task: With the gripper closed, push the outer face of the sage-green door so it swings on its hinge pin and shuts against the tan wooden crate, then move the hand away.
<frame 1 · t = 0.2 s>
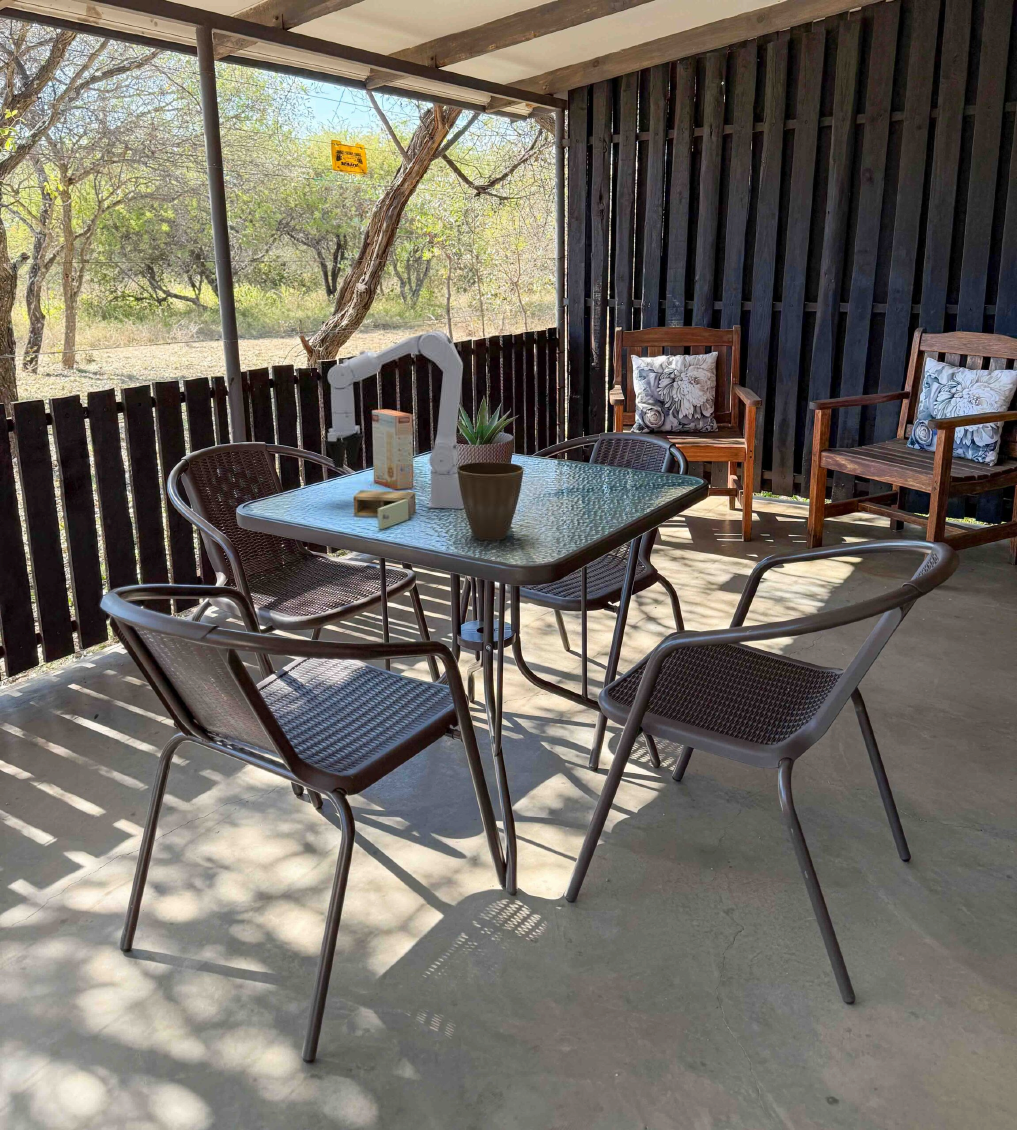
hand: (345, 465, 247), 10 cm above the table, tool pointing down, fingers open, 7 cm apart
plant pot: (490, 537, 217), on the table
tan wooden crate: (385, 513, 238), on the table
cracker box: (393, 486, 272), on the table
door: (396, 513, 227), point 3 cm above the table, hinge at 70.0°
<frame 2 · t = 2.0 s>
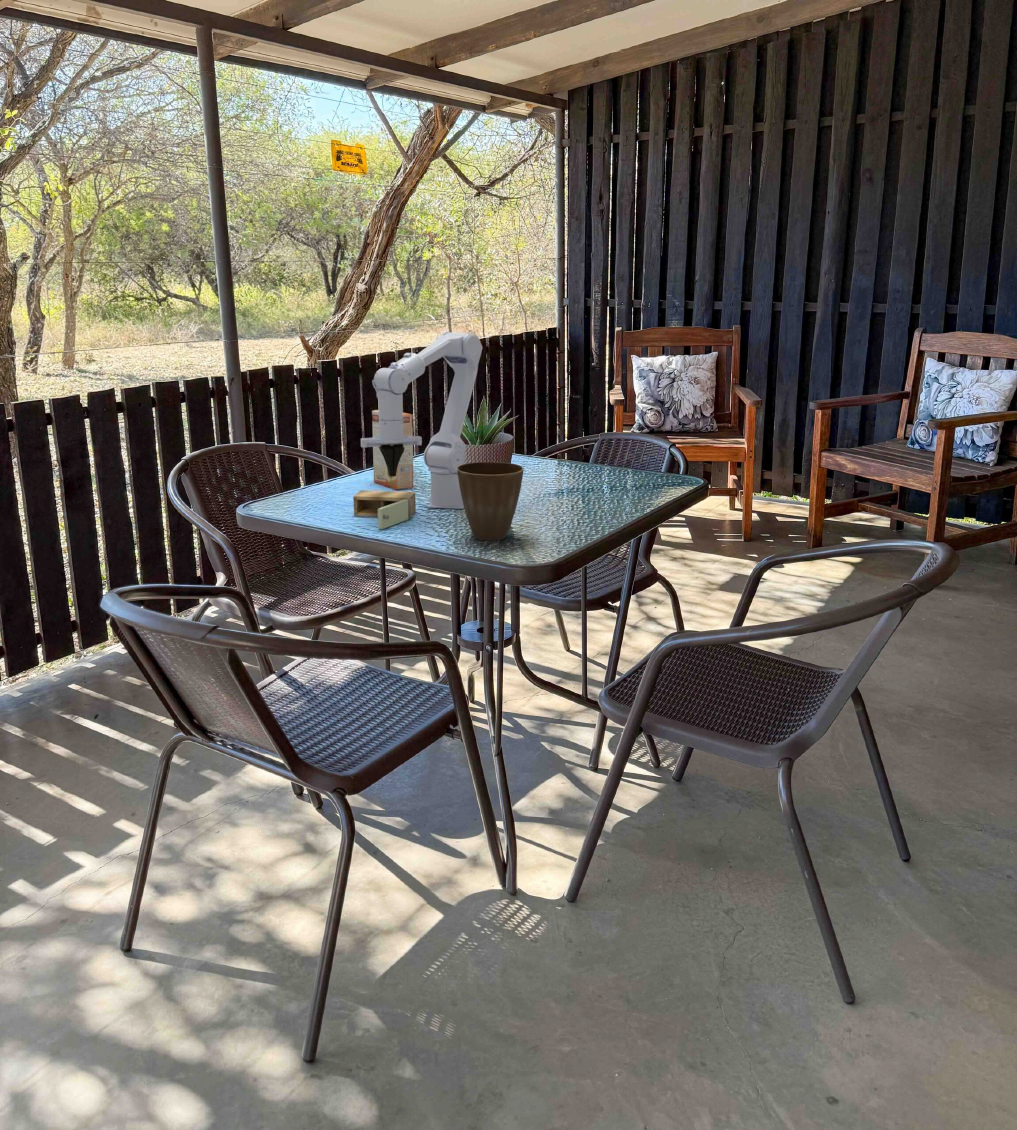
hand: (392, 475, 231), 11 cm above the table, tool pointing down, fingers closed
nothing on the table moved.
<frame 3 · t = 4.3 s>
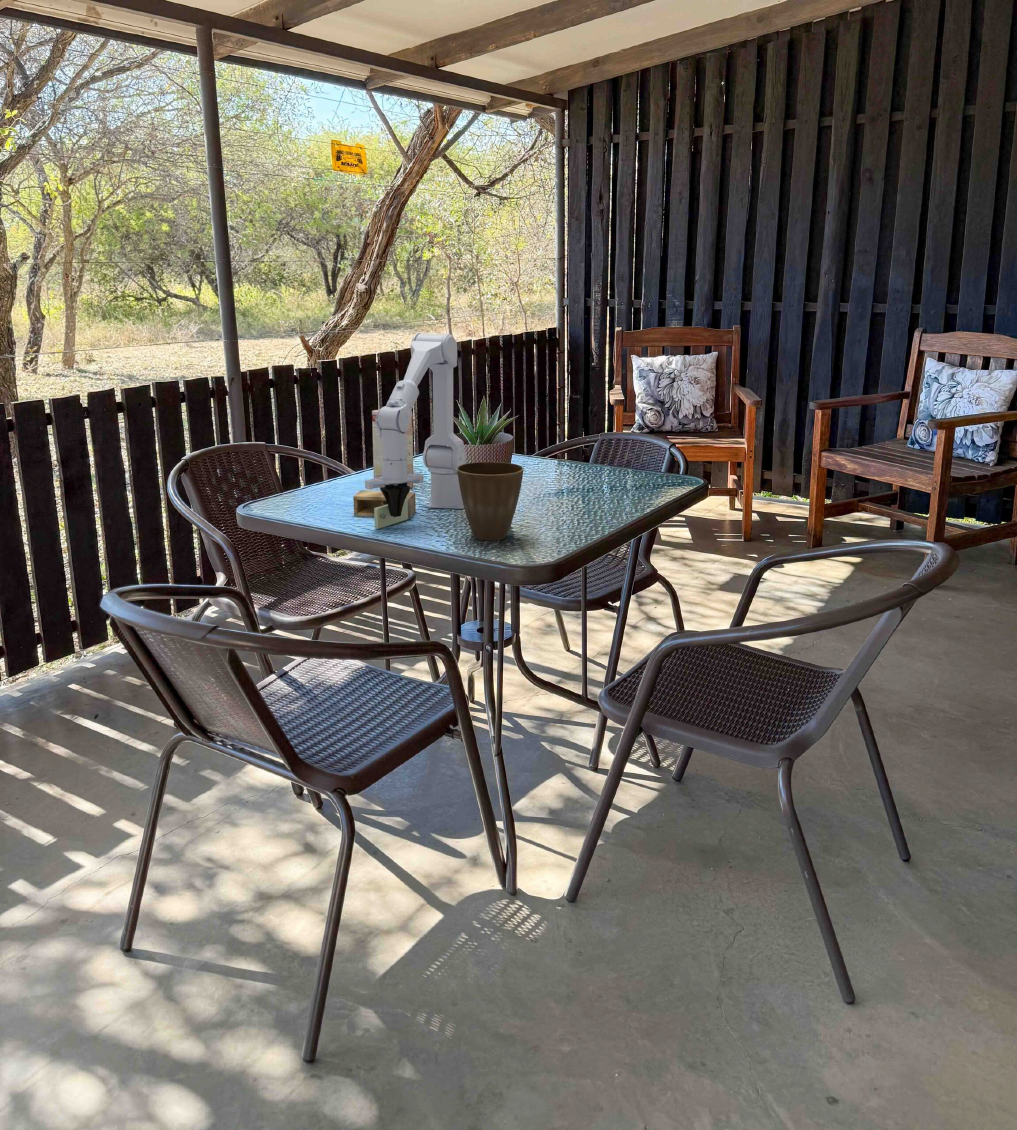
hand: (395, 516, 225), 3 cm above the table, tool pointing down, fingers closed
door: (395, 513, 227), point 3 cm above the table, hinge at 65.2°, touching gripper
everything else where it was.
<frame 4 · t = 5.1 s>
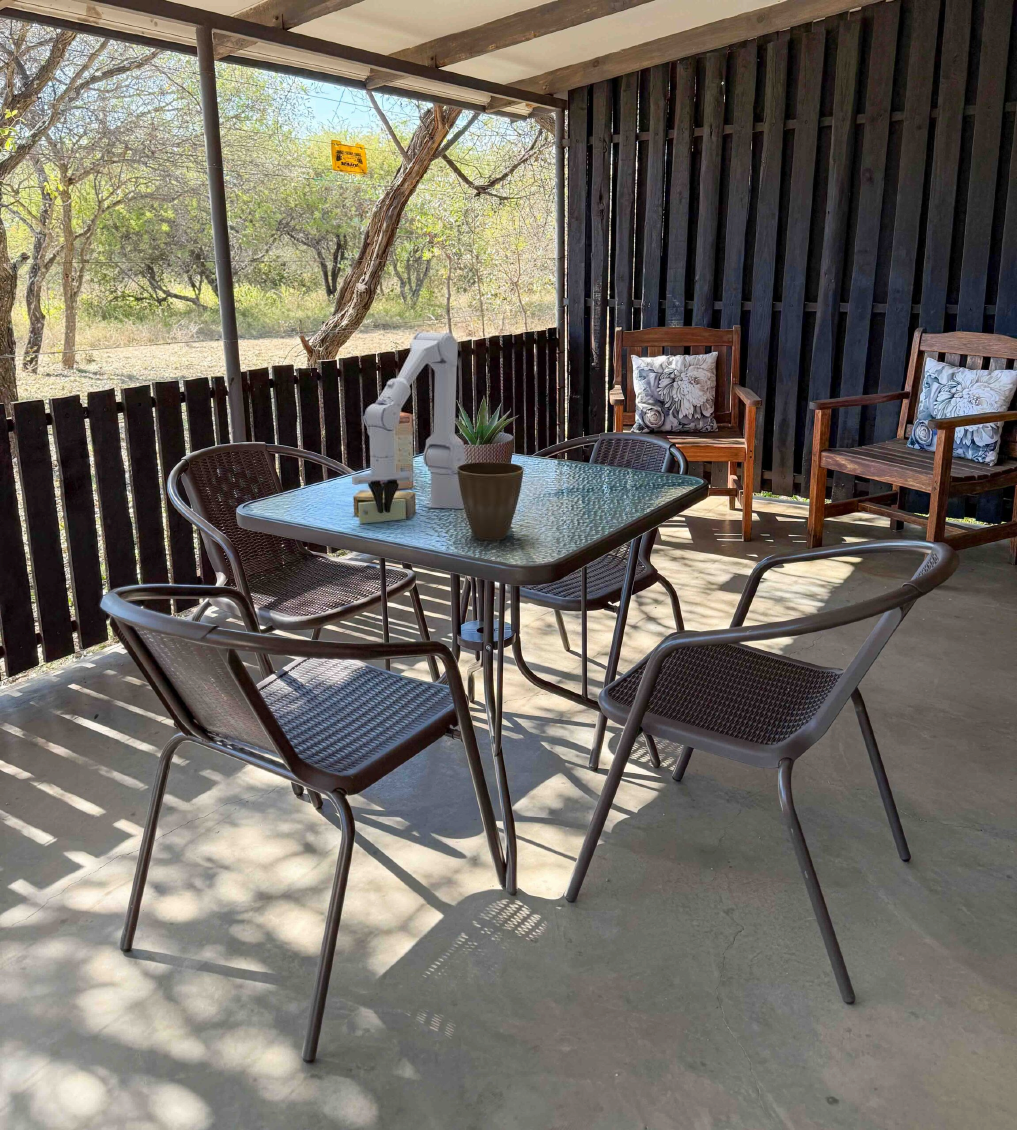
hand: (383, 512, 228), 3 cm above the table, tool pointing down, fingers closed, pressing on door
door: (386, 511, 230), point 3 cm above the table, hinge at 33.1°, touching gripper
everything else where it was.
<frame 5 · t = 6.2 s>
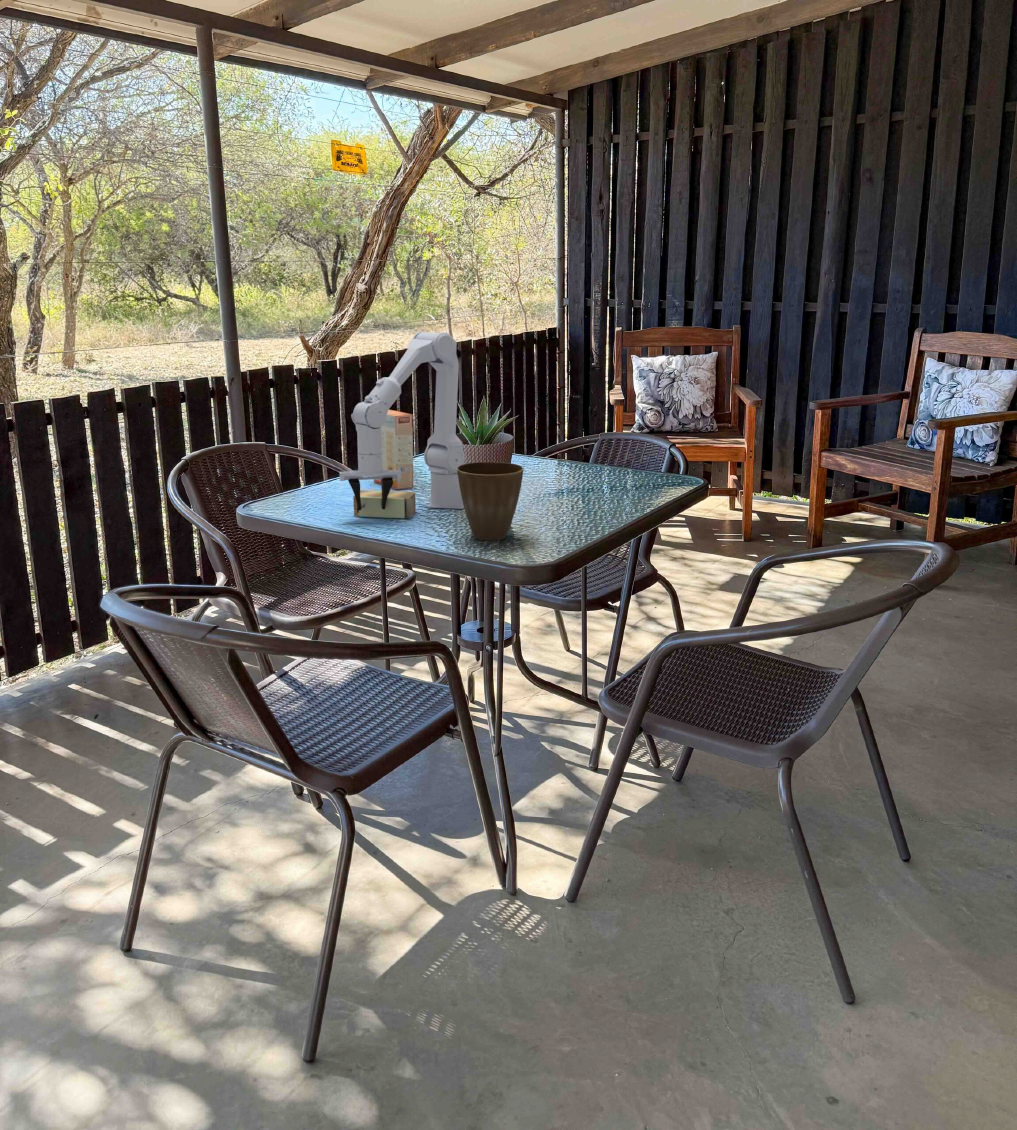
hand: (371, 509, 231), 3 cm above the table, tool pointing down, fingers open, 5 cm apart
door: (384, 507, 233), point 3 cm above the table, hinge at -1.4°, touching tan wooden crate, gripper
everything else where it was.
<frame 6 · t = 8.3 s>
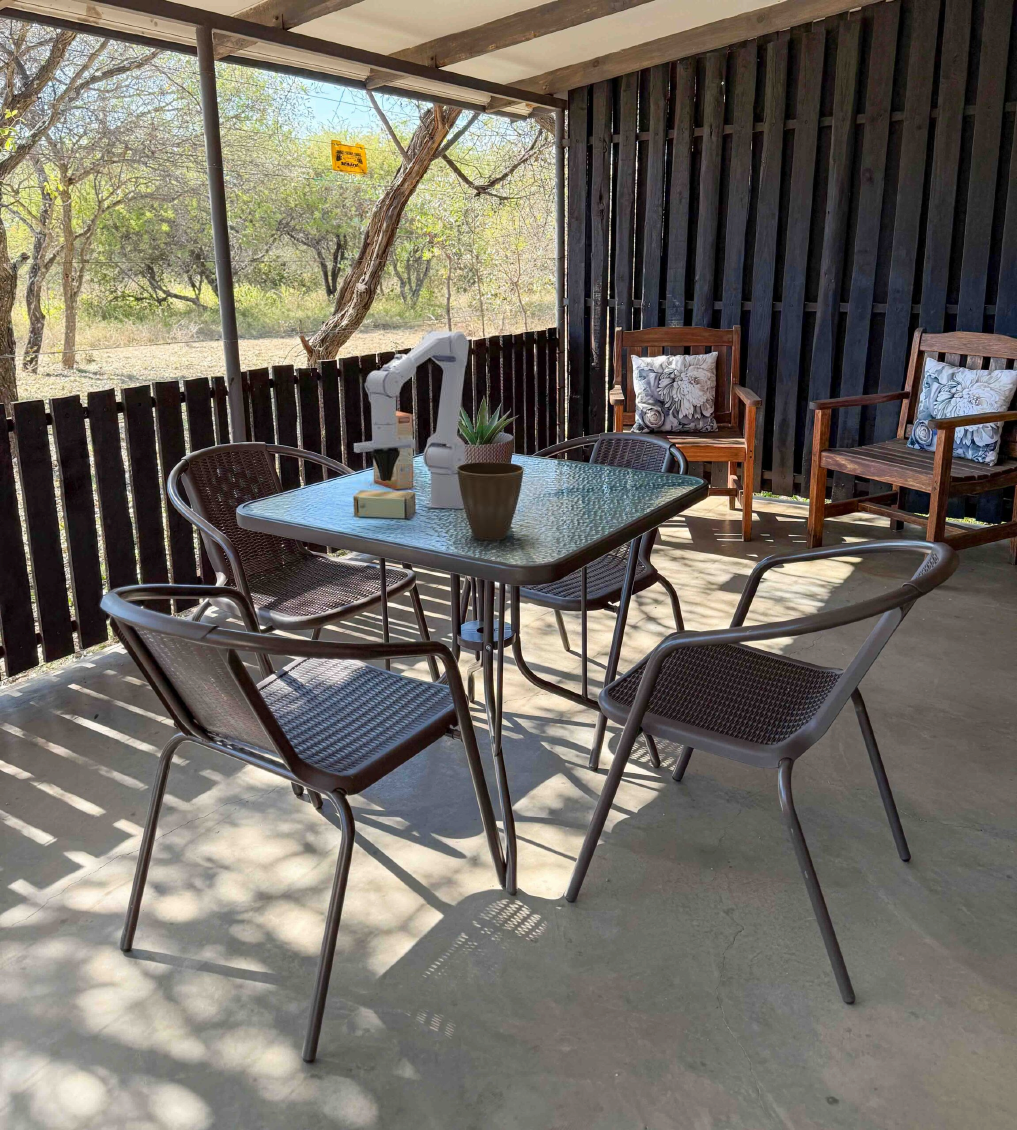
hand: (385, 480, 226), 10 cm above the table, tool pointing down, fingers closed
door: (384, 507, 233), point 3 cm above the table, hinge at -1.3°
everything else where it was.
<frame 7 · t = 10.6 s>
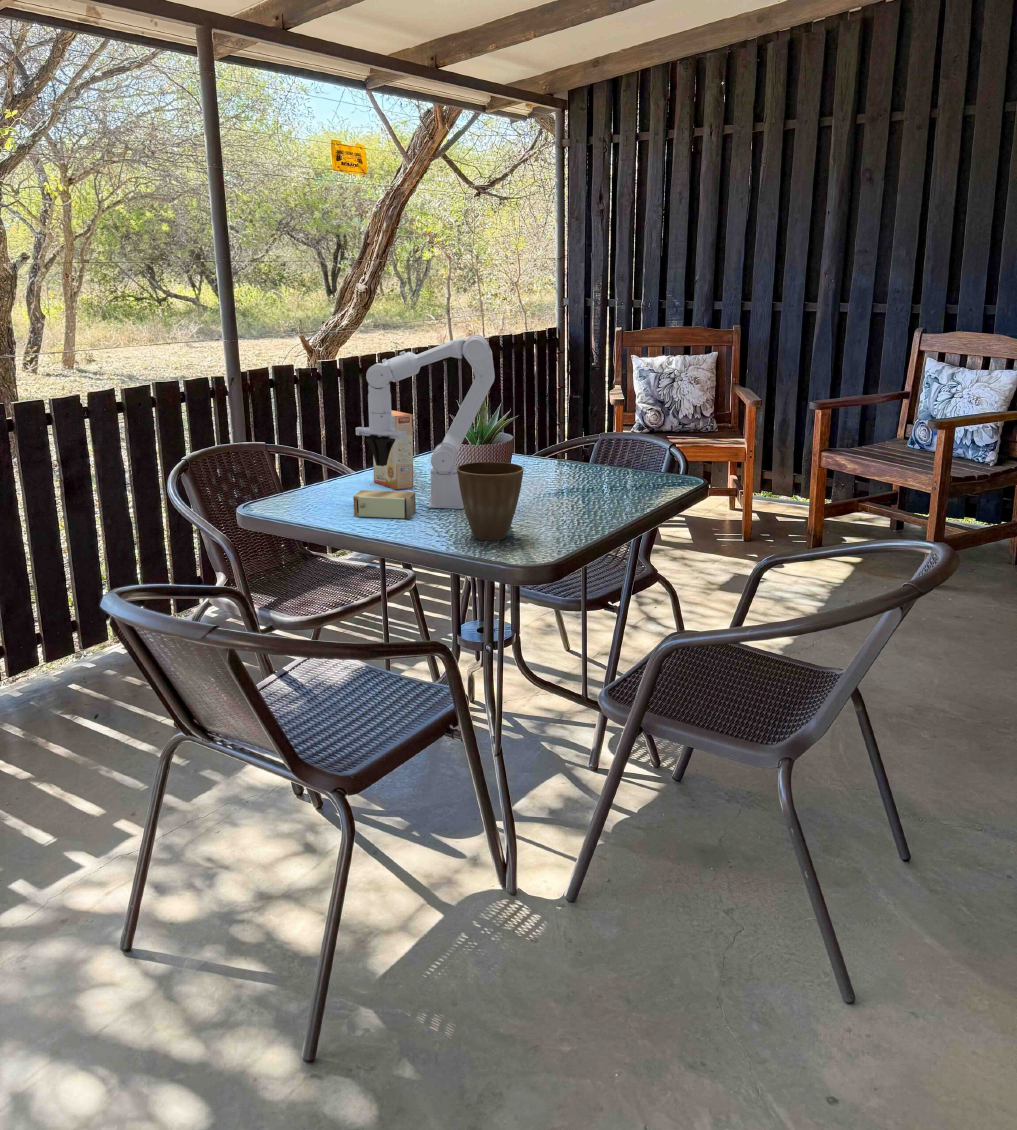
hand: (381, 465, 245), 10 cm above the table, tool pointing down, fingers closed
nothing on the table moved.
at the end: door at -1° (first picture: +70°) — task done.
